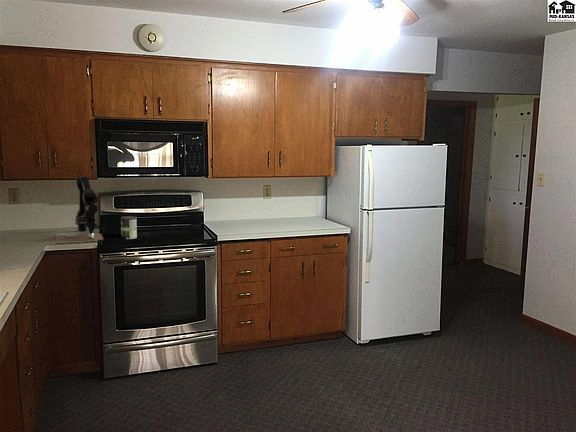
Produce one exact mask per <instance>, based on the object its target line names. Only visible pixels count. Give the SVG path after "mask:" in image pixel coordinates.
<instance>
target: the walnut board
mask: <svg viewBox="0 0 576 432" xmlns="http://www.w3.org/2000/svg"><path fill="white" fill-rule="evenodd" d="M81 236H89V235H81ZM94 237H95V239H86V238H72V237H64V236H63V237H57V235H56V236H55V245H64V244H66V245H67V244H82V243H83V244H84V243H85V244H86V243H99V242H103V243H104V237H103V235H102V233H94Z"/></svg>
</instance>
